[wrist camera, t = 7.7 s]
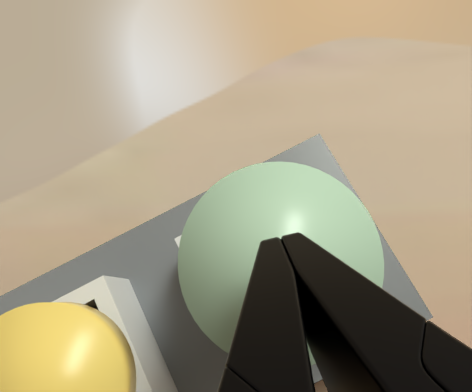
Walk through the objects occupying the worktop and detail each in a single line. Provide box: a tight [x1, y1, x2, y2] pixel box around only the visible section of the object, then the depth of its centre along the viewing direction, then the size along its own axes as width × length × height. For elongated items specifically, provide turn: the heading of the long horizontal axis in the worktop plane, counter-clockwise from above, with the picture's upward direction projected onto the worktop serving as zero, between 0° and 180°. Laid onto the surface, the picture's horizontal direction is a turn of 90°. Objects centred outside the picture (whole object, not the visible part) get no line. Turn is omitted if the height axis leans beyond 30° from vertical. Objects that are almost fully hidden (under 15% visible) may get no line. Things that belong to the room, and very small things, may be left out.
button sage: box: [178, 161, 384, 365], centre depth 12 cm, size 5×5×4 cm
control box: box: [0, 134, 433, 392], centre depth 17 cm, size 9×26×7 cm, turn 117°
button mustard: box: [0, 302, 137, 392], centre depth 14 cm, size 5×5×4 cm
